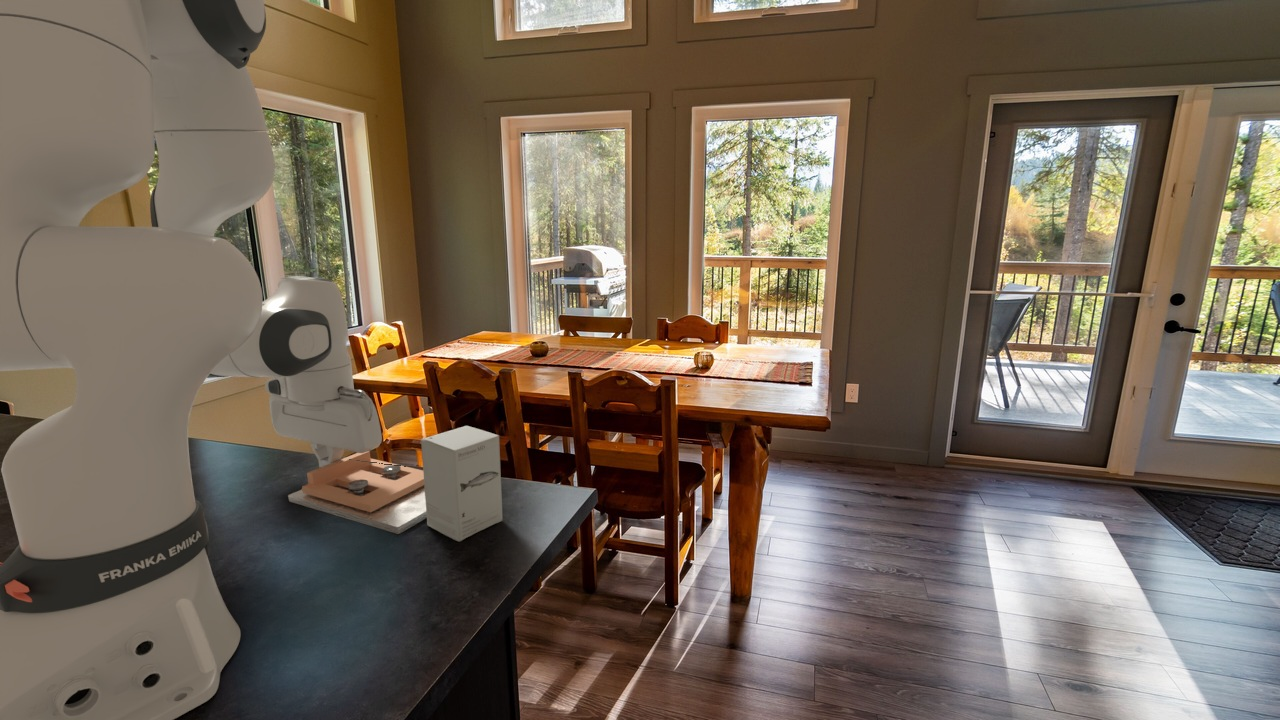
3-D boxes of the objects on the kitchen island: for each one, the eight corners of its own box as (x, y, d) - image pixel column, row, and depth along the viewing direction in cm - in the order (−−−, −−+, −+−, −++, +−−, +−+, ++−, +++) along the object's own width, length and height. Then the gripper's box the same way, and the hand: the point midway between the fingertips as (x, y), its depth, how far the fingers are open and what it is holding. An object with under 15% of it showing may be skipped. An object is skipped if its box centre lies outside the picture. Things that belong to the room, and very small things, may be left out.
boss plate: (398, 534, 75) (396, 511, 74) (289, 501, 84) (286, 481, 83) (471, 491, 87) (470, 472, 86) (369, 467, 96) (367, 449, 95)
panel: (370, 512, 78) (368, 493, 77) (302, 492, 83) (300, 475, 83) (435, 479, 88) (434, 462, 88) (371, 464, 94) (369, 448, 94)
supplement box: (459, 543, 72) (452, 450, 70) (425, 526, 77) (418, 437, 74) (505, 521, 78) (500, 434, 76) (471, 506, 83) (466, 423, 80)
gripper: (387, 386, 85) (395, 473, 88) (296, 372, 93) (306, 452, 96) (351, 396, 79) (361, 489, 82) (257, 381, 87) (269, 465, 90)
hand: (330, 469), depth 89 cm, fingers closed
